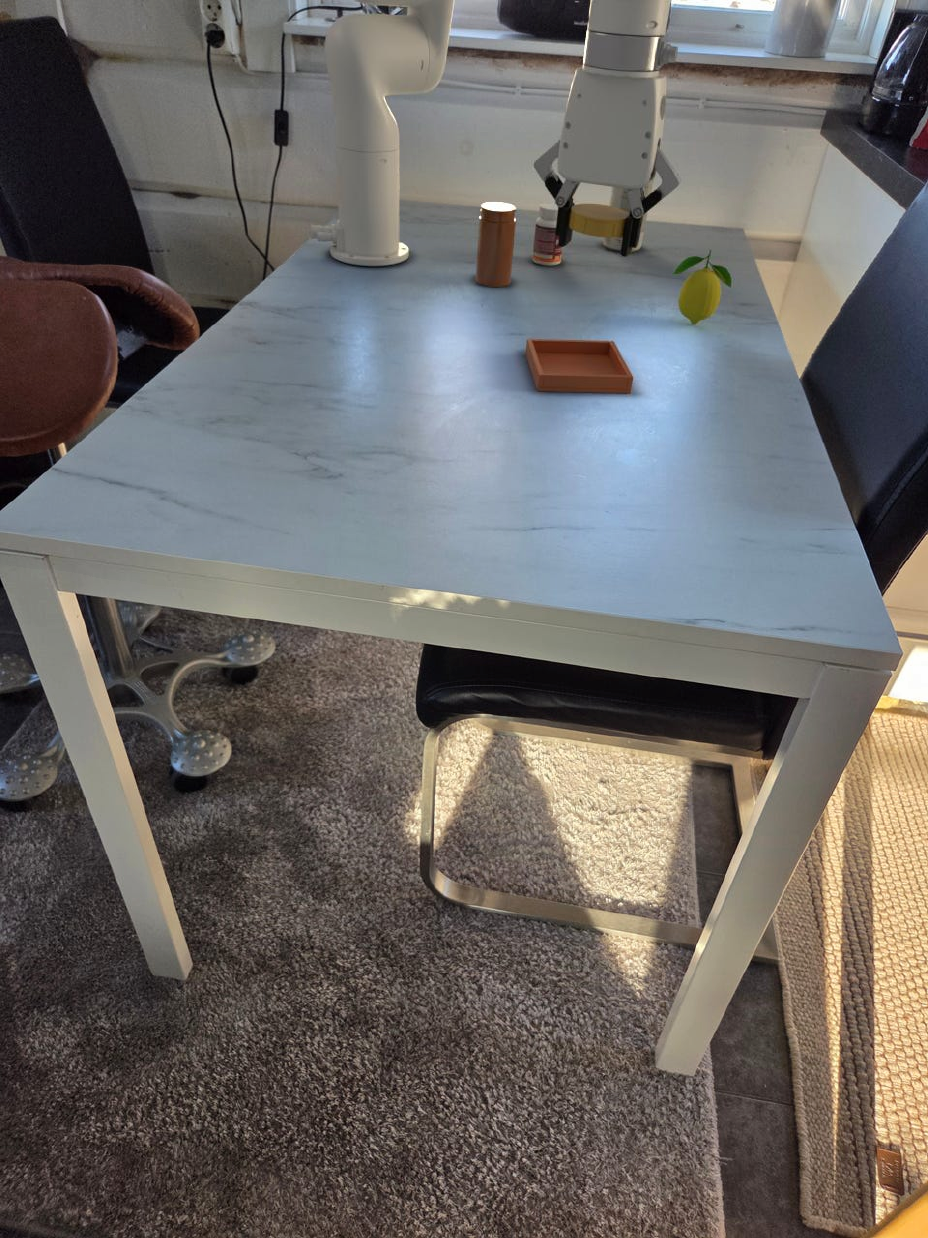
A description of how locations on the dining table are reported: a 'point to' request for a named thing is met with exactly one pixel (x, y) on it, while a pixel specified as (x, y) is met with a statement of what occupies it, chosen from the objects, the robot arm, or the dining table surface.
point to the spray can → (622, 202)
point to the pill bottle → (546, 237)
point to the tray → (578, 366)
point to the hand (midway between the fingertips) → (595, 247)
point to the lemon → (701, 289)
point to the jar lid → (598, 220)
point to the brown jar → (495, 244)
